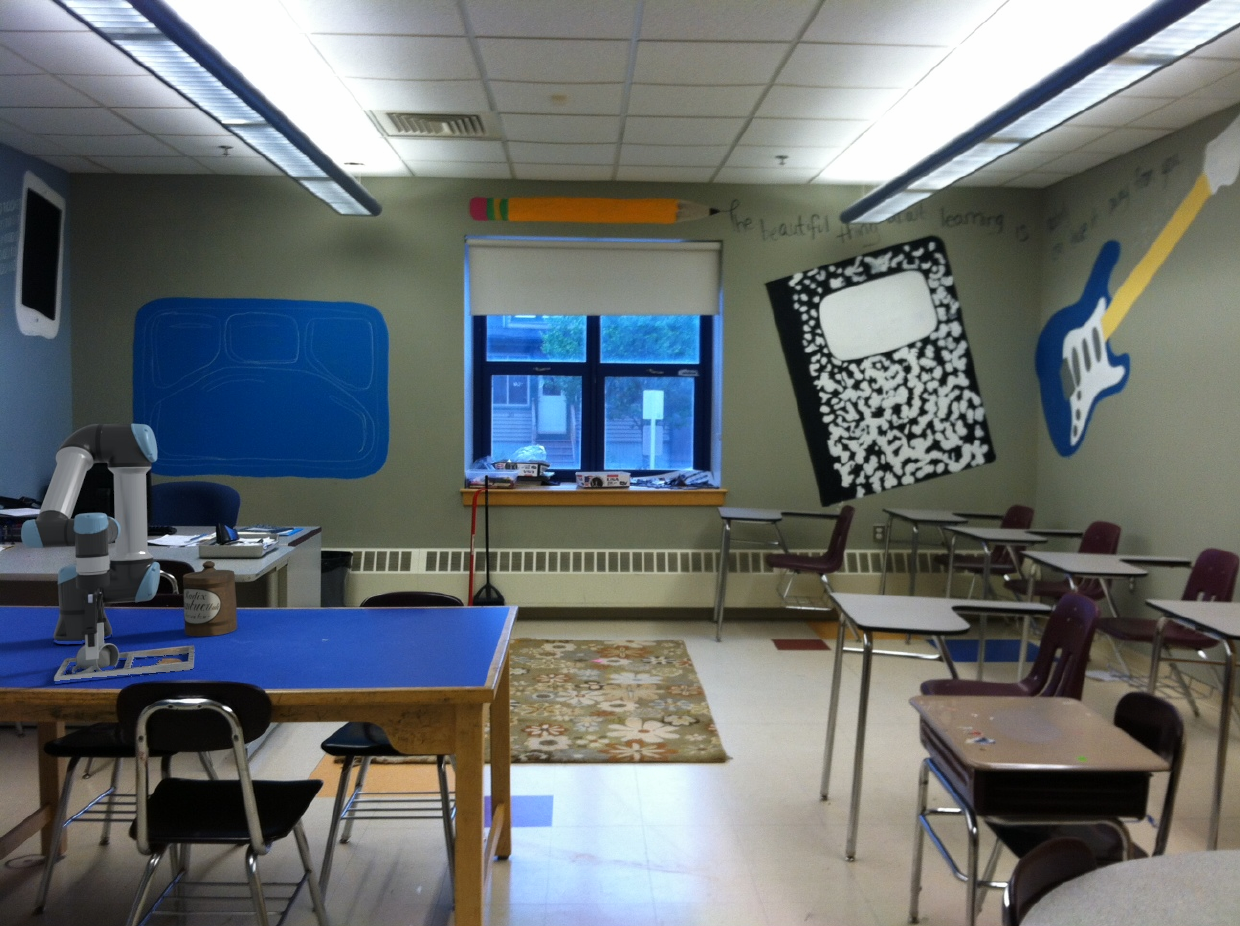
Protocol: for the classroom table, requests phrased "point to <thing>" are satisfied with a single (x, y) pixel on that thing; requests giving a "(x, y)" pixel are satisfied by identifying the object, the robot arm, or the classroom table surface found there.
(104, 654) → the ceramic mug
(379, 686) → the classroom table surface
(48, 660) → the classroom table surface
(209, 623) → the wooden container
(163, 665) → the slot rack
